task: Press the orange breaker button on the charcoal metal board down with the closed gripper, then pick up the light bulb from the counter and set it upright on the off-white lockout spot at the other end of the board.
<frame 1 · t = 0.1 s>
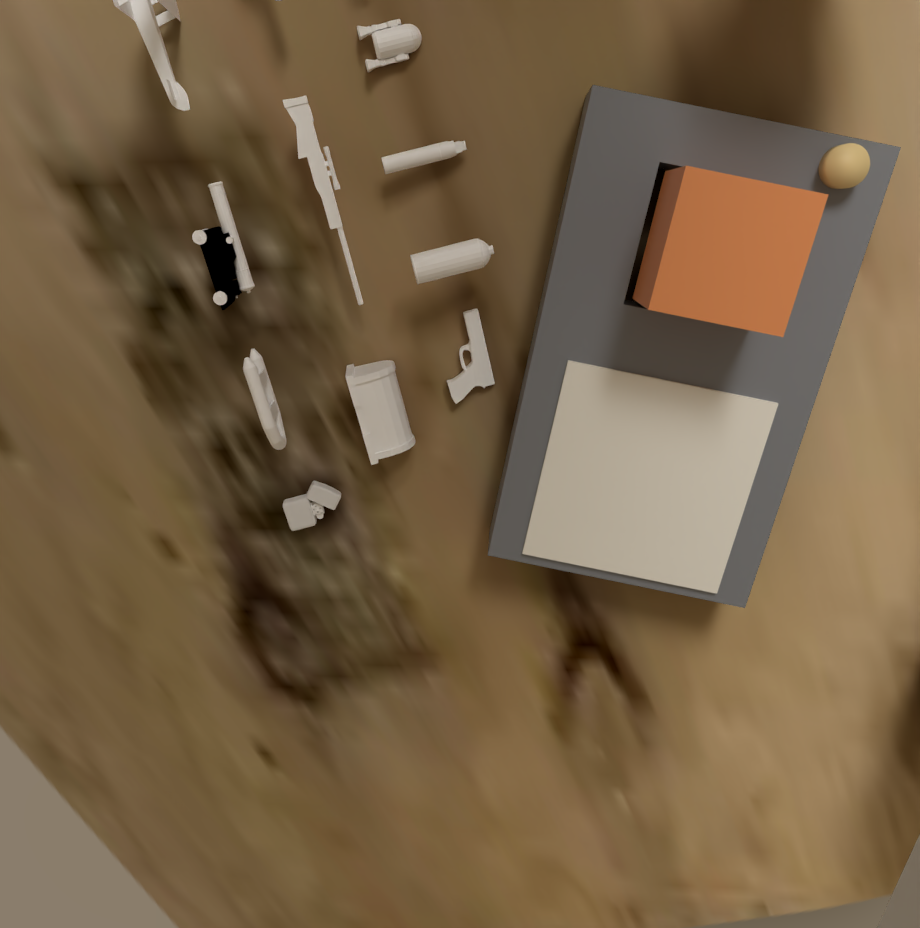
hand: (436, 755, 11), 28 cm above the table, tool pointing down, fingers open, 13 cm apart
breaker button: (721, 251, 30), point 5 cm above the table, slide at 0.0 cm
miniature set: (322, 120, 35), on the table
breaker board: (662, 357, 37), on the table
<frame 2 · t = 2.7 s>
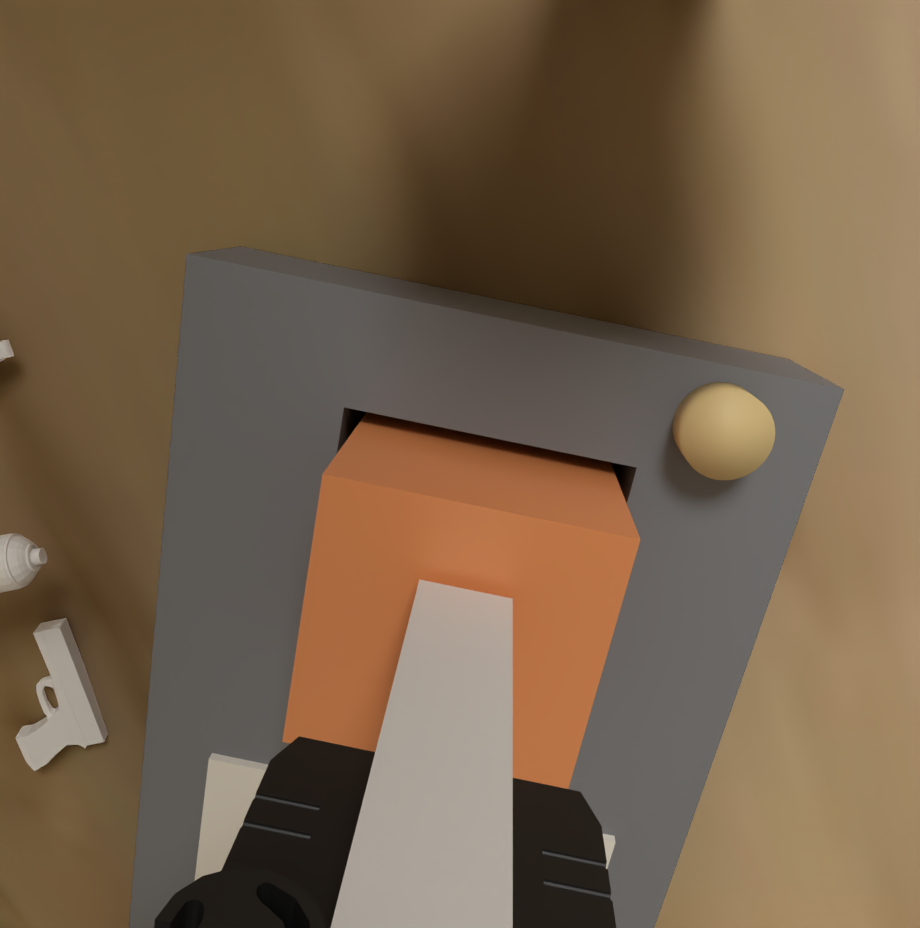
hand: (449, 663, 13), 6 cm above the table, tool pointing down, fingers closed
breaker button: (458, 591, 15), point 4 cm above the table, slide at 1.1 cm, touching gripper
breaker board: (430, 696, 20), on the table
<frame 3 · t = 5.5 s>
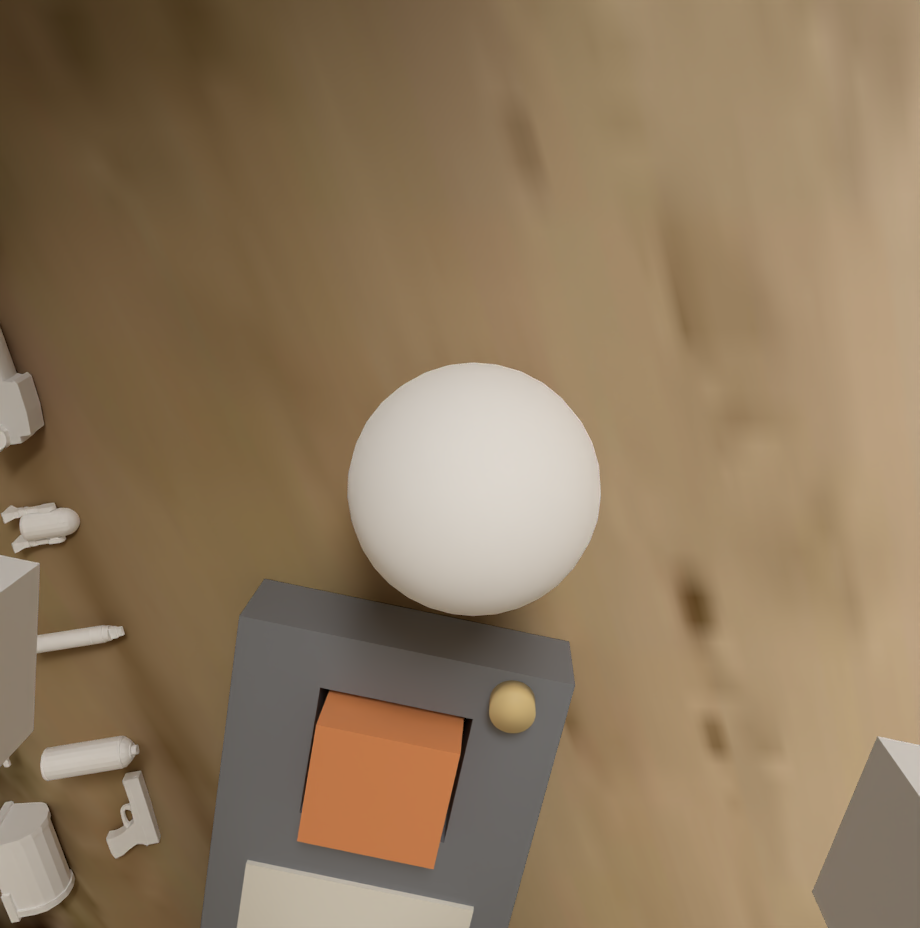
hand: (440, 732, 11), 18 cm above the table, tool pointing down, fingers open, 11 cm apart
light bulb: (484, 416, 29), on the table
breaker button: (385, 761, 30), point 3 cm above the table, slide at 2.3 cm
breaker board: (375, 817, 34), on the table
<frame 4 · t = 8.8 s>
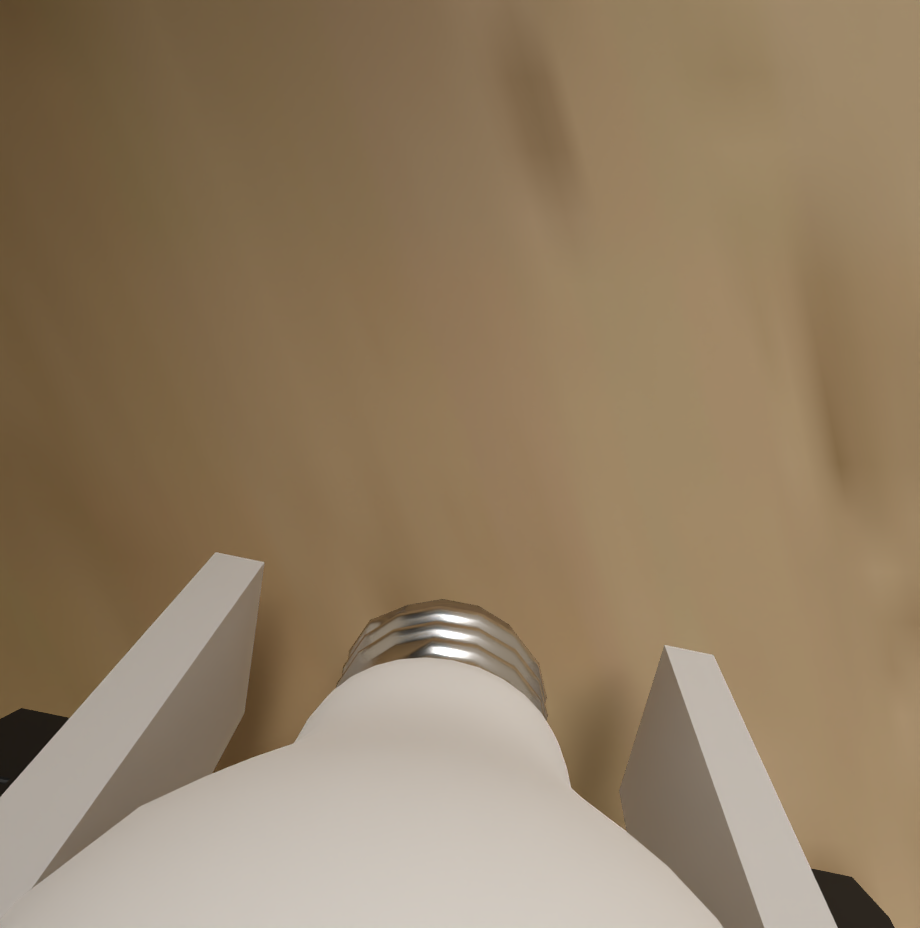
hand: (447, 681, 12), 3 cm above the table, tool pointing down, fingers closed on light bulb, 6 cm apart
light bulb: (450, 649, 13), point 3 cm above the table, touching gripper
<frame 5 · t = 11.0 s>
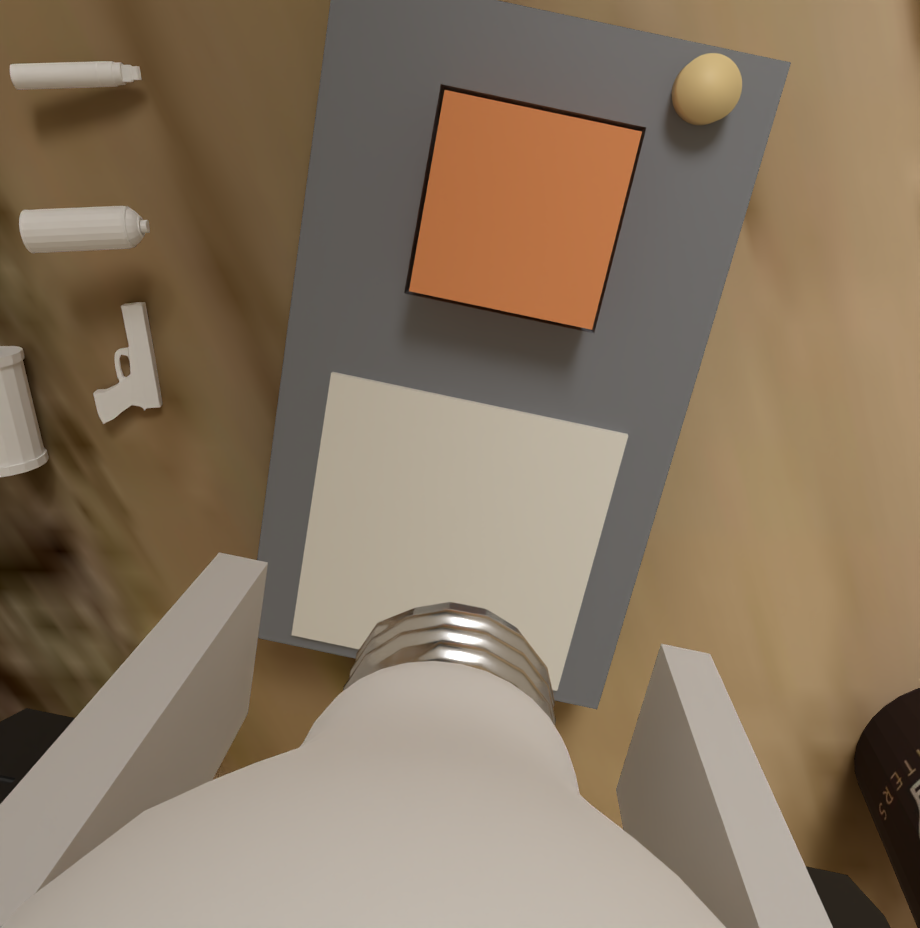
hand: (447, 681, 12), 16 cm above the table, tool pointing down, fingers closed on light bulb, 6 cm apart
light bulb: (457, 652, 13), point 15 cm above the table, touching gripper
breaker button: (520, 213, 23), point 3 cm above the table, slide at 2.3 cm
breaker board: (486, 367, 27), on the table
when the fingers open (4 cm above the table, at t = 13.6 s): light bulb moves 2 cm, resting on breaker board.
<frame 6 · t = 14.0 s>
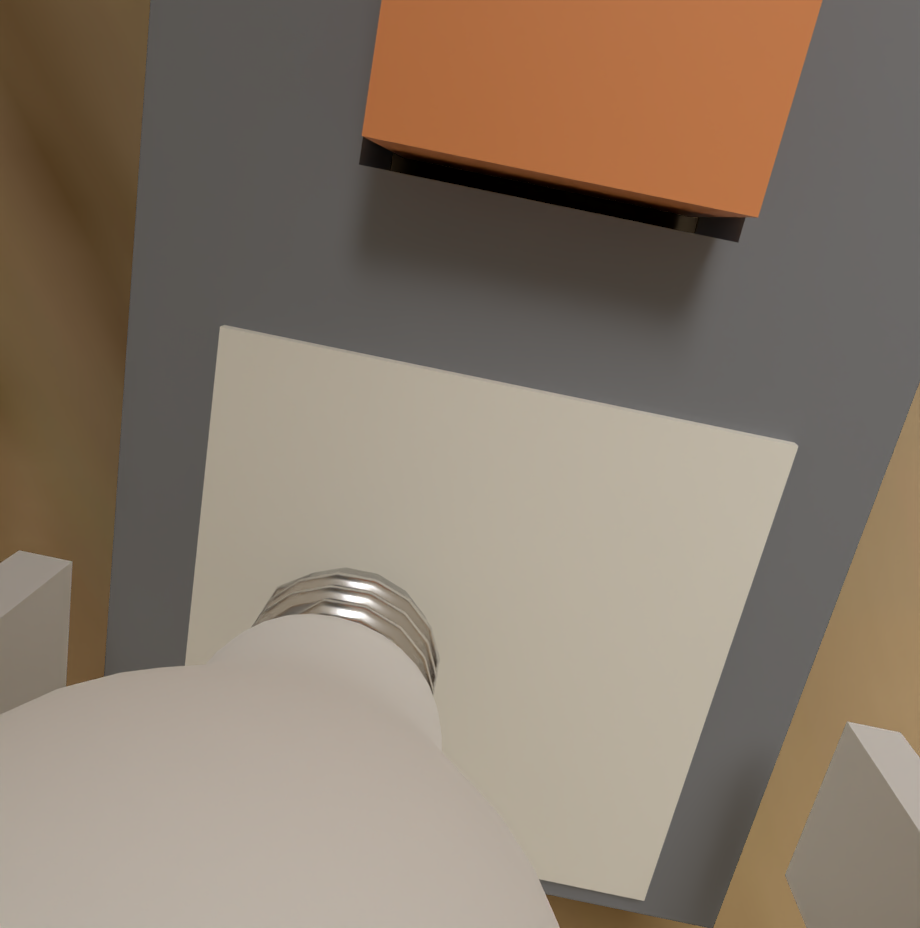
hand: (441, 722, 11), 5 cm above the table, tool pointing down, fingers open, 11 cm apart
light bulb: (359, 617, 14), point 3 cm above the table, touching breaker board
breaker board: (515, 326, 15), on the table
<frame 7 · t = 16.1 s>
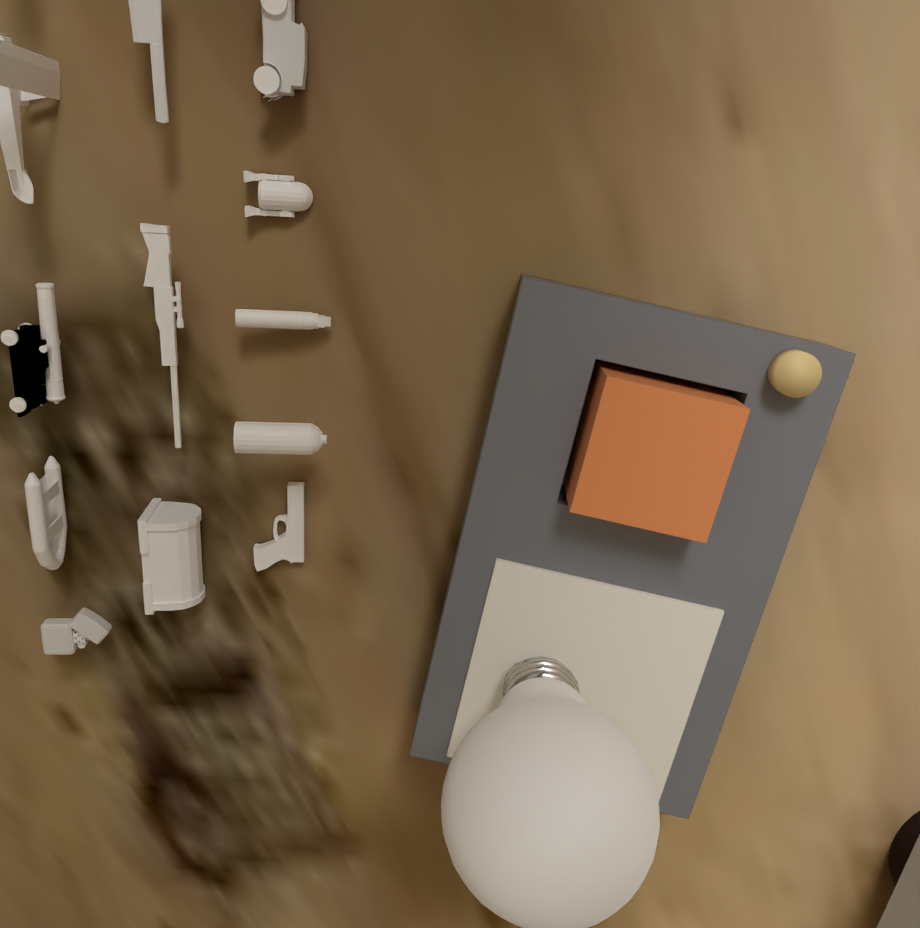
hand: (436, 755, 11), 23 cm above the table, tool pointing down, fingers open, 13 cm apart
light bulb: (539, 675, 32), point 3 cm above the table, touching breaker board
breaker button: (648, 447, 30), point 3 cm above the table, slide at 2.3 cm
miniature set: (190, 245, 32), on the table
breaker board: (604, 544, 34), on the table
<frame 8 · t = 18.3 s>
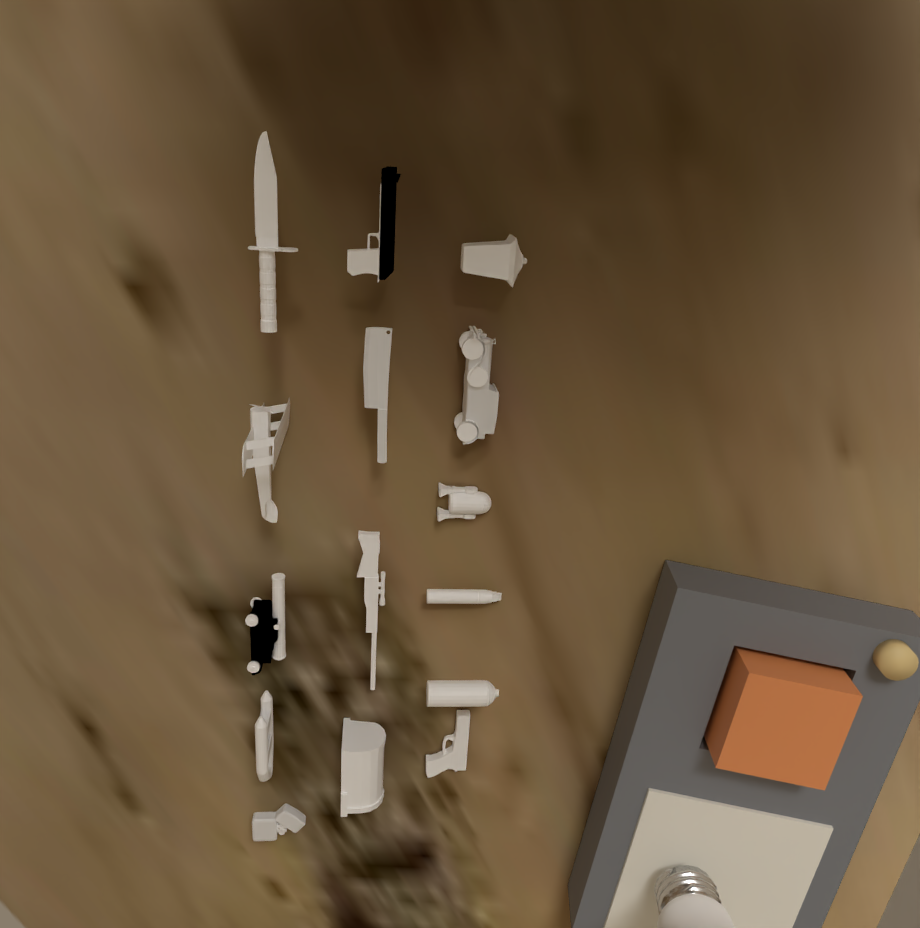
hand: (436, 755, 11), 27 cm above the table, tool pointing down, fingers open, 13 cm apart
light bulb: (680, 873, 40), point 3 cm above the table, touching breaker board
breaker button: (773, 706, 37), point 3 cm above the table, slide at 2.3 cm
miniature set: (385, 529, 39), on the table
breaker board: (727, 757, 41), on the table
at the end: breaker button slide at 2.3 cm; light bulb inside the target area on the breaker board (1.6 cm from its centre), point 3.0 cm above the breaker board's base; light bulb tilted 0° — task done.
